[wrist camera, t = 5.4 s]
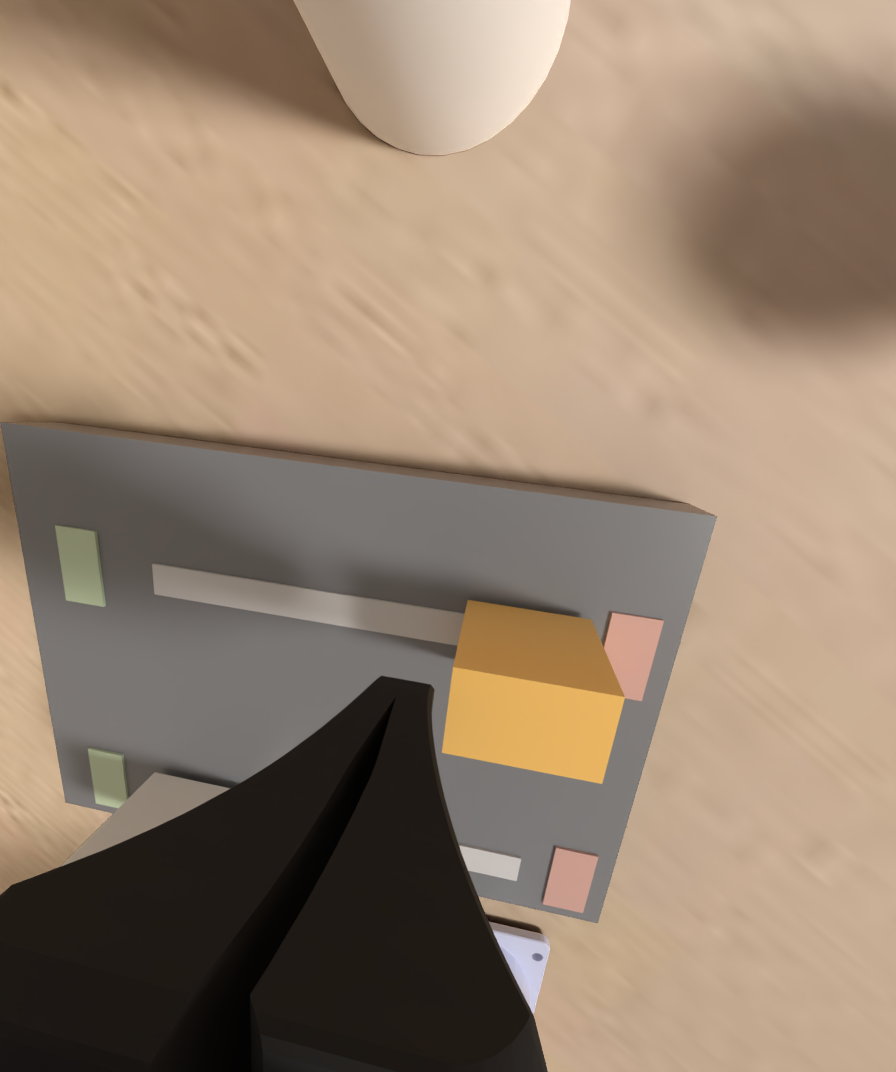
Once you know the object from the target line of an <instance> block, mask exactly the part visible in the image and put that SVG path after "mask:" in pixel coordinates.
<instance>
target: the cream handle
mask: <svg viewBox="0 0 896 1072" xmlns="http://www.w3.org/2000/svg"><path fill="white" fill-rule="evenodd" d="M229 789H231V788H226V787H221V786H217V785H212V784H207V783H203V782H198V781H193V780H189V779H184V778H179V777H175V776H170V775H165V774H161V773H156V772H154V773H153V774H152V775H151V776H150V777H149V778H148V779H147V780H146V781H145V782H144V783H143V784H142V785H141V786H140V787H139V788H138V789H137V790H136V791H135V792H134V793H133V794H132V795H131V796H130V797H129V798H128V799H127V800H126V801H125V802H124V803H123V804H122V805H121V806H120V807H119V808H118V809H117V810H116V811H115V812H114V813H113V814H112V815H111V816H110V817H109V818H108V819H107V820H106V821H105V822H104V823H103V824H102V825H101V826H100V827H99V828H98V829H97V830H96V831H95V832H94V833H93V834H92V835H91V836H90V837H89V838H88V839H87V840H86V841H85V842H84V843H83V844H82V845H81V846H80V847H79V848H78V849H77V850H76V851H75V852H74V853H73V854H72V855H71V856H70V857H69V858H68V859H67V860H66V861H65V862H64V863H63V864H62V865H61V866H64V865H66V864H69V863H71V862H74V861H77V860H79V859H82V858H84V857H87V856H89V855H92V854H95V853H97V852H100V851H102V850H104V849H107V848H109V847H112V846H114V845H116V844H119V843H121V842H123V841H126V840H128V839H130V838H132V837H135V836H137V835H139V834H141V833H143V832H146V831H148V830H150V829H152V828H155V827H157V826H159V825H161V824H163V823H165V822H167V821H169V820H171V819H173V818H176V817H178V816H180V815H182V814H184V813H186V812H188V811H190V810H192V809H194V808H195V807H197V806H199V805H201V804H203V803H205V802H207V801H208V800H210V799H212V798H214V797H216V796H218V795H220V794H221V793H223V792H225V791H227V790H229ZM61 866H60V867H61Z"/></svg>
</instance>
